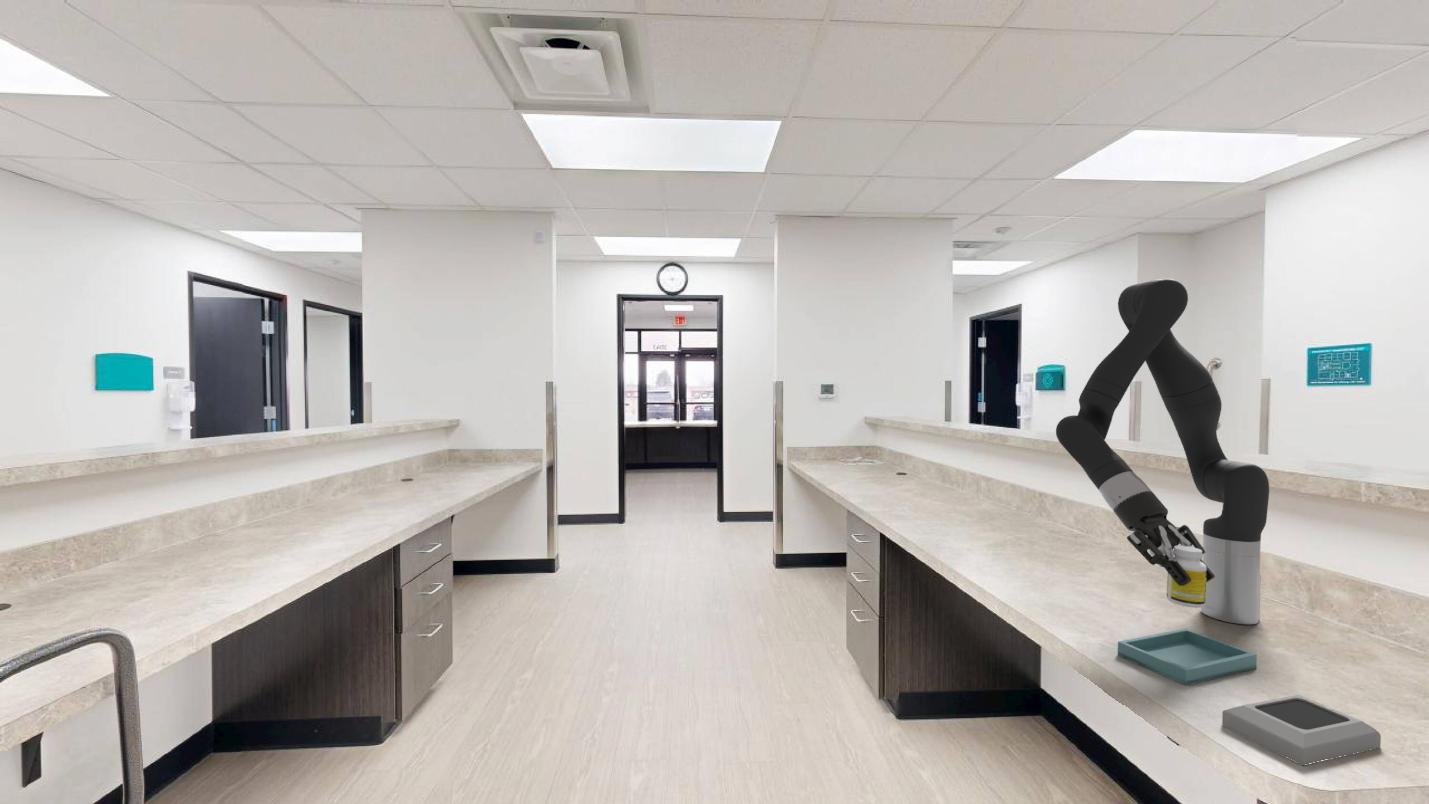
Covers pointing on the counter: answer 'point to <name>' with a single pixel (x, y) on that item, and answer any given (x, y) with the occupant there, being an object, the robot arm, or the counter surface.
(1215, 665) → the tray
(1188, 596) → the supplement bottle
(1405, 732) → the counter surface
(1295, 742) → the gray beveled slab
